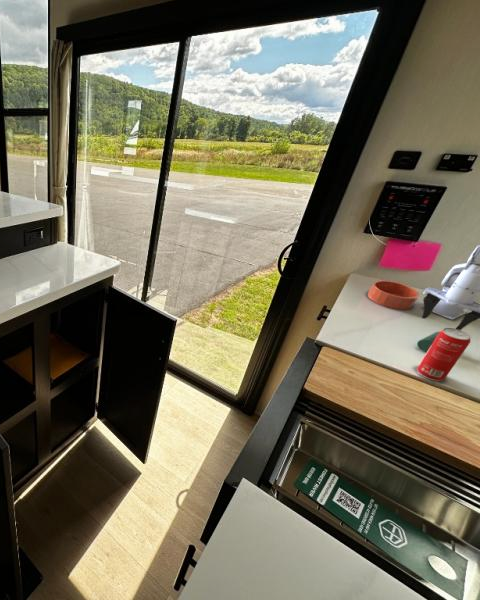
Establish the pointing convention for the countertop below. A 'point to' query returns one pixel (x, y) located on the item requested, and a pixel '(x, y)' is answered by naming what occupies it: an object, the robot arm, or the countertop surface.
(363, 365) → the countertop surface
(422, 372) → the beverage can
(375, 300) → the bowl
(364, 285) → the countertop surface
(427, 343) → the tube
